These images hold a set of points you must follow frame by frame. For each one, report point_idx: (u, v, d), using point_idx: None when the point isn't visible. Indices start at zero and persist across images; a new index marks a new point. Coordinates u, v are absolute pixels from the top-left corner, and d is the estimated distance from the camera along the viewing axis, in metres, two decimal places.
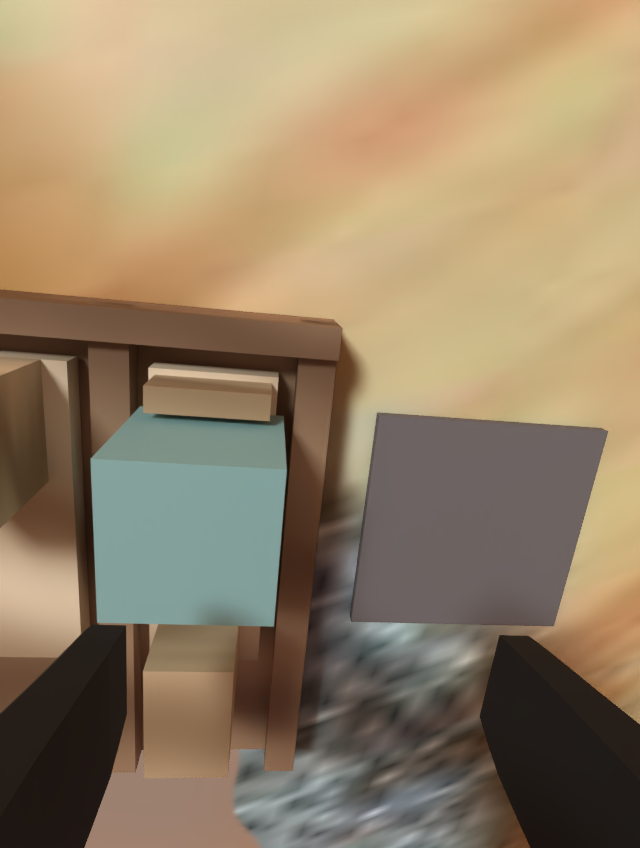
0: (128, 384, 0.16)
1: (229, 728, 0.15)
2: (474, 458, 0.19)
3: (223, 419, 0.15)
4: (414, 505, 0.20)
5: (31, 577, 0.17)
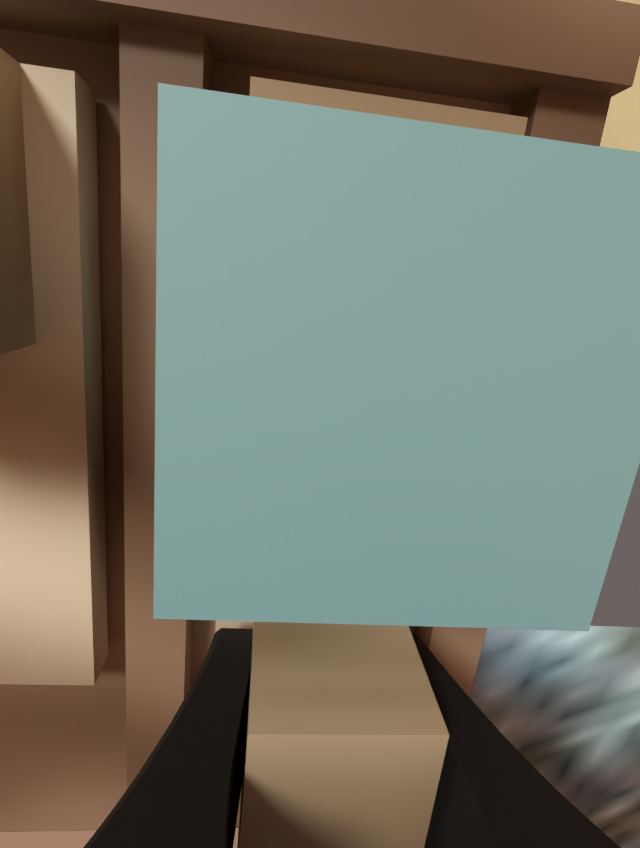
0: None
1: None
2: None
3: None
4: None
5: (2, 536, 0.09)
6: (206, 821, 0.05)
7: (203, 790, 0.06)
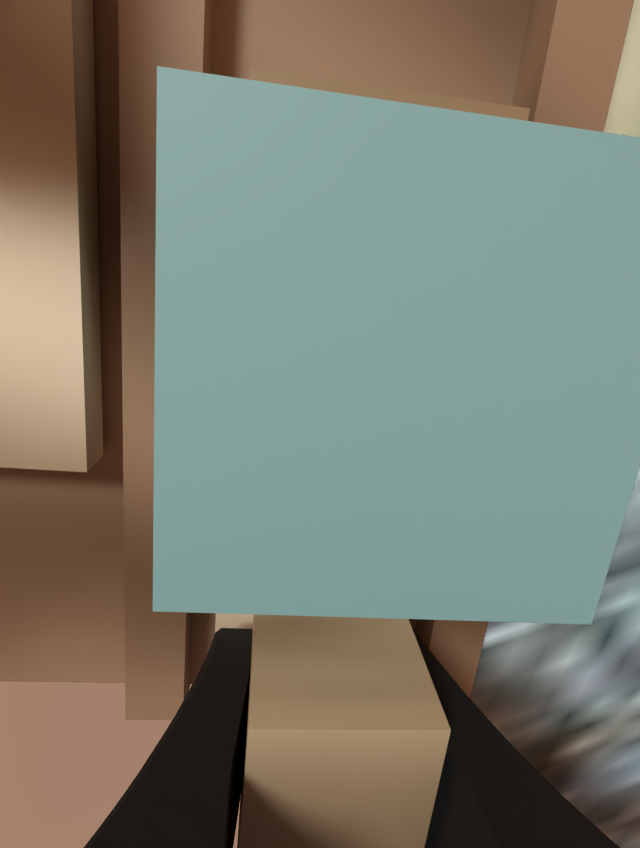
0: None
1: (421, 847, 0.07)
2: None
3: None
4: None
5: None
6: (206, 820, 0.05)
7: (203, 791, 0.06)
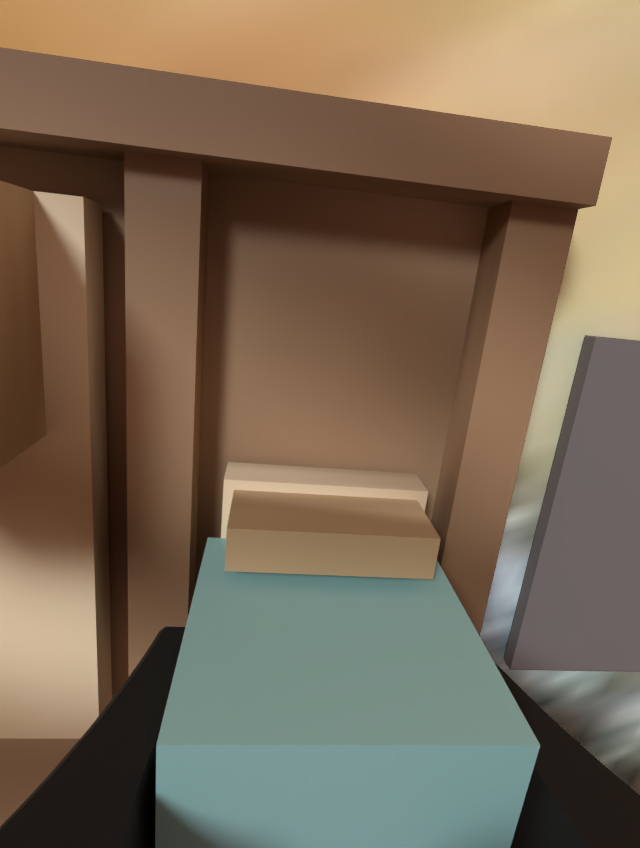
0: (197, 250, 0.08)
1: None
2: None
3: None
4: (629, 489, 0.12)
5: (14, 605, 0.10)
6: (109, 824, 0.05)
7: (110, 791, 0.06)
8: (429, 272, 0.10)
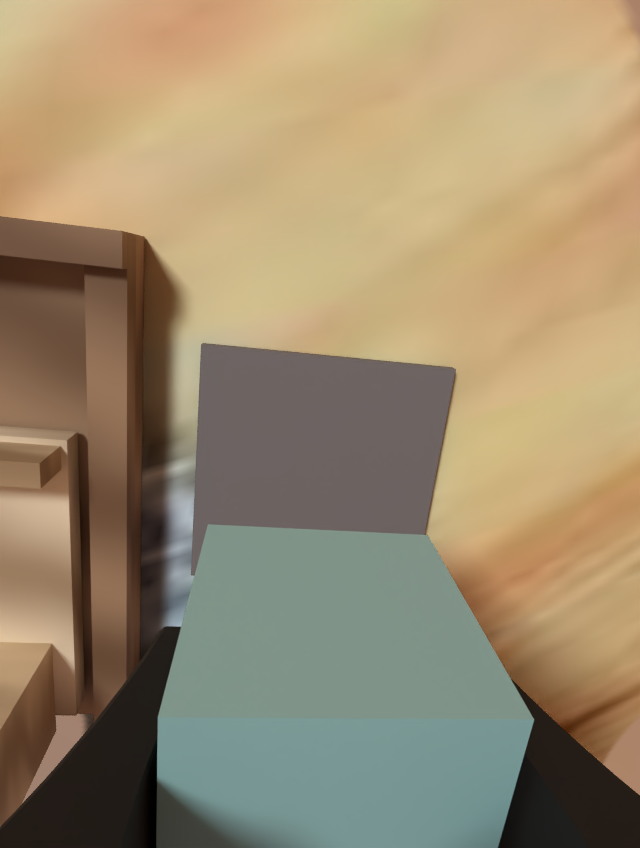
0: None
1: None
2: (311, 395, 0.18)
3: (347, 553, 0.09)
4: (249, 446, 0.18)
5: None
6: (110, 822, 0.05)
7: (111, 791, 0.06)
8: (65, 303, 0.16)
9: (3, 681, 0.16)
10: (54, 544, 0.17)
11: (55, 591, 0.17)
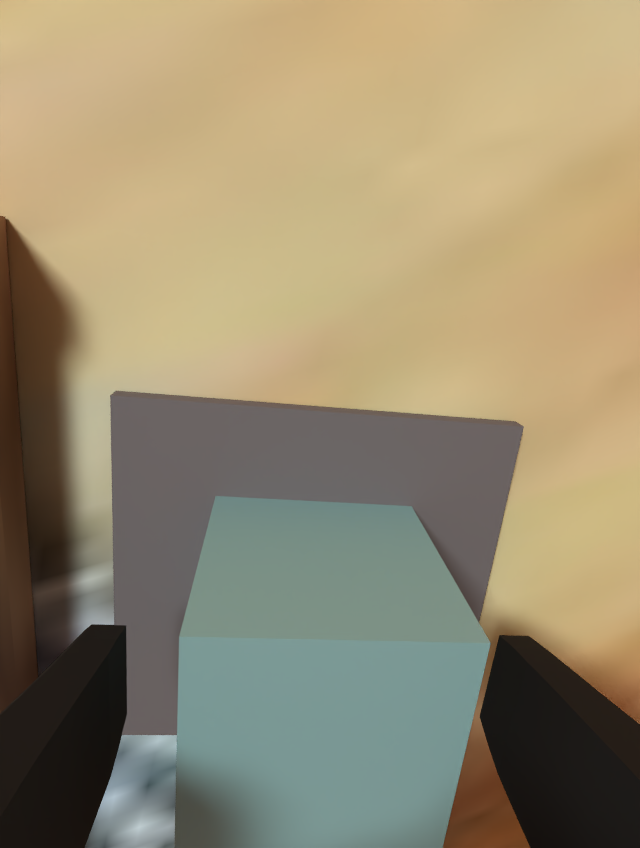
0: None
1: None
2: (293, 471, 0.11)
3: (339, 520, 0.11)
4: (197, 550, 0.12)
5: None
6: None
7: None
8: None
9: None
10: None
11: None
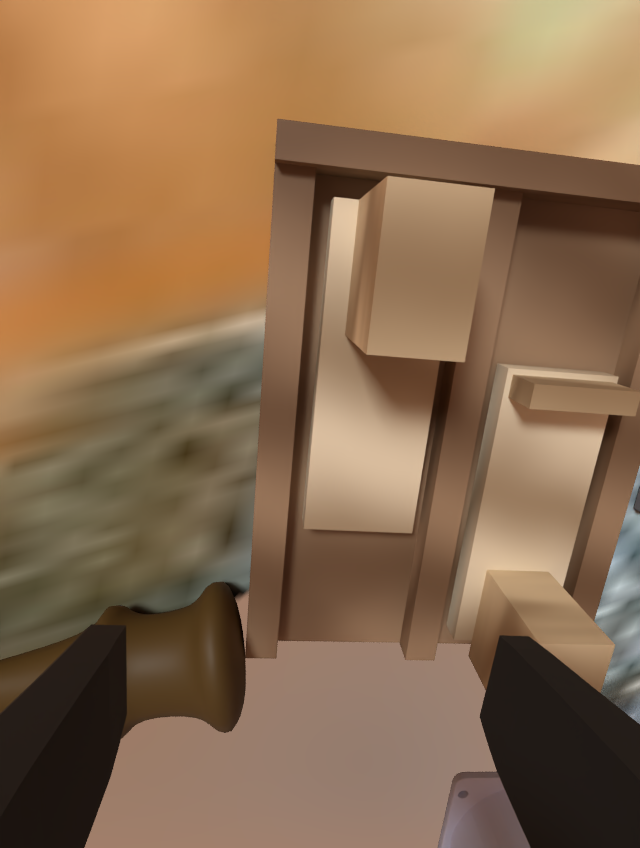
0: (513, 238, 0.16)
1: None
2: None
3: None
4: None
5: (382, 444, 0.17)
6: None
7: None
8: (620, 251, 0.17)
9: (553, 599, 0.18)
10: (578, 476, 0.18)
11: (566, 521, 0.19)
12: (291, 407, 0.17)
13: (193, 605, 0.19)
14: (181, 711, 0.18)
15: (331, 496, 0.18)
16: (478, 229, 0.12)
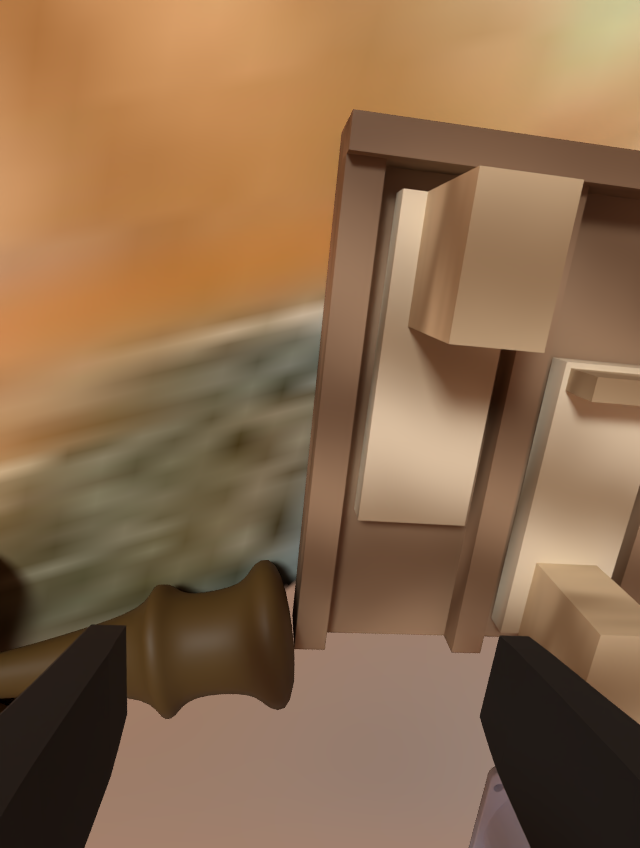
0: (577, 232, 0.16)
1: None
2: None
3: None
4: None
5: (439, 436, 0.17)
6: None
7: None
8: None
9: (606, 592, 0.18)
10: (631, 470, 0.18)
11: (616, 515, 0.19)
12: (351, 398, 0.17)
13: (242, 583, 0.19)
14: (234, 688, 0.17)
15: (387, 488, 0.18)
16: (565, 220, 0.12)
